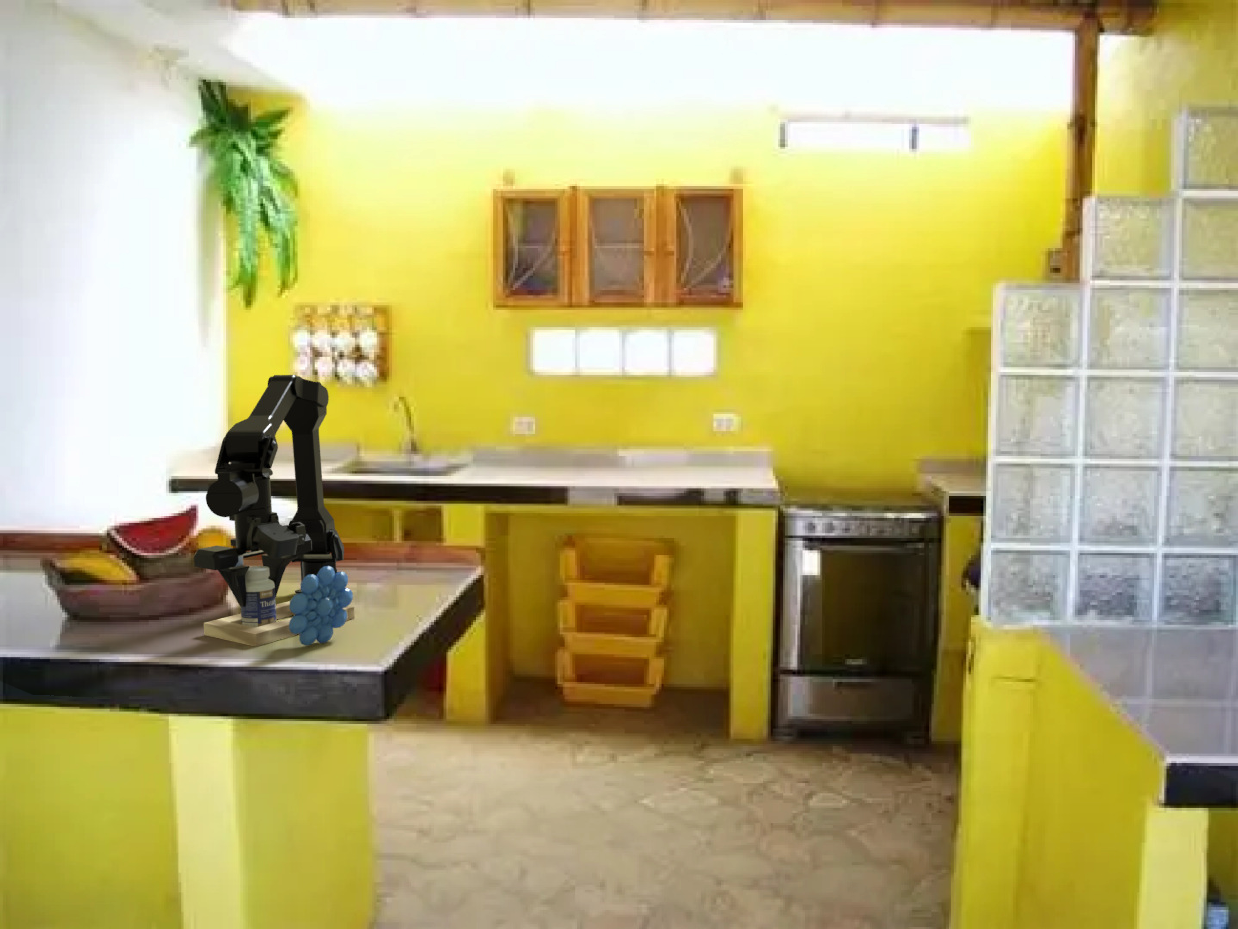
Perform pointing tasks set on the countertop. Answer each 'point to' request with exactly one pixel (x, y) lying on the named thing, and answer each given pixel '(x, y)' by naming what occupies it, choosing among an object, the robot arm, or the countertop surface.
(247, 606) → the pill bottle
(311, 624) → the blue ball flower
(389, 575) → the countertop surface
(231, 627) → the wooden frame
